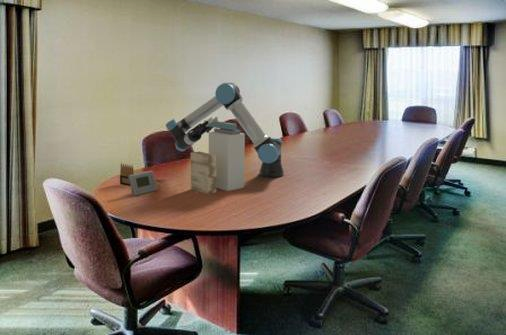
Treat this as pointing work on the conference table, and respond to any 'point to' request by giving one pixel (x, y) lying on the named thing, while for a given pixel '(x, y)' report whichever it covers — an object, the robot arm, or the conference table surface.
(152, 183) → the digital clock
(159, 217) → the conference table surface
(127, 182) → the ammunition clip
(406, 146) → the conference table surface
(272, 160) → the robot arm
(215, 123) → the rail
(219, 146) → the grey stand
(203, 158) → the beige stone block
